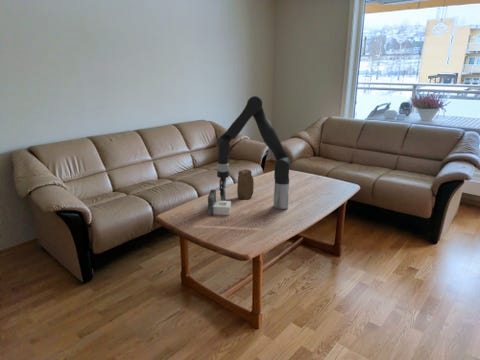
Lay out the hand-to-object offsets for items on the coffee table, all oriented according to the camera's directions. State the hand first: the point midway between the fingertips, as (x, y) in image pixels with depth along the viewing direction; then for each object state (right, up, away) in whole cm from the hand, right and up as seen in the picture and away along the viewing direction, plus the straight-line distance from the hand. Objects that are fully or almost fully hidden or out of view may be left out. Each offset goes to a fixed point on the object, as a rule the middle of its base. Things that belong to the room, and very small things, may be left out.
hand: (222, 193), depth 224 cm
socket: (0, -11, -9) cm, 14 cm away
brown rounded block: (+15, -4, +17) cm, 23 cm away
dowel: (0, -8, +2) cm, 9 cm away
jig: (+2, -12, -9) cm, 15 cm away
